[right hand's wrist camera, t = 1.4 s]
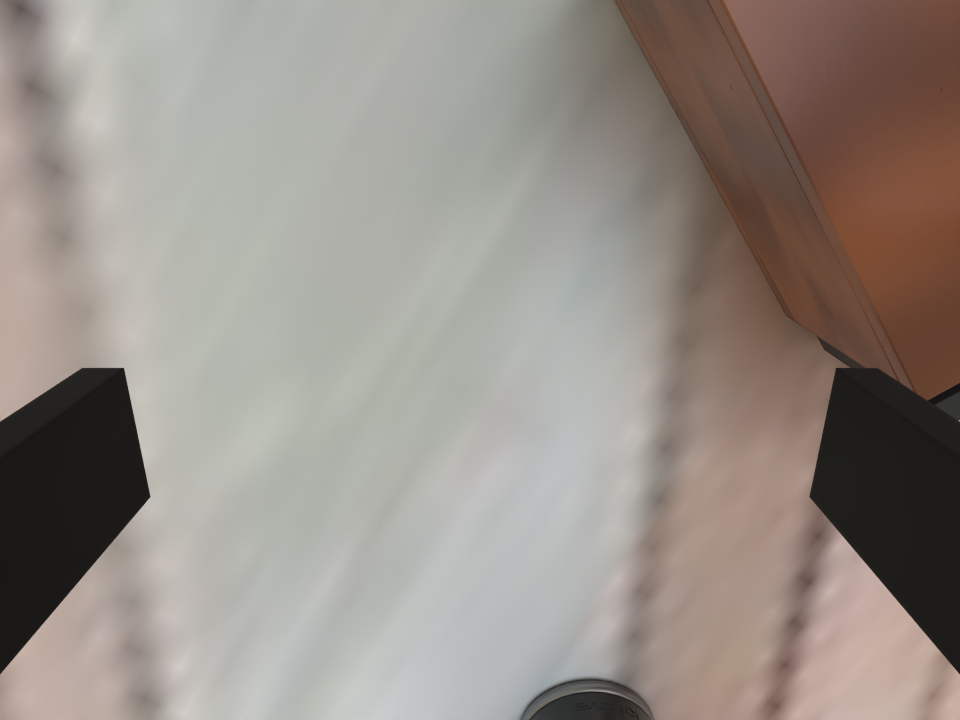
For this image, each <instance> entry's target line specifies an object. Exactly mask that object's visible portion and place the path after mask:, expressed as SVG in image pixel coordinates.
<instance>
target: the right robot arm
mask: <svg viewBox="0 0 960 720" xmlns="http://www.w3.org/2000/svg"><path fill="white" fill-rule="evenodd" d="M149 498H150V493H149V488H148V483H147V478H146V473H145V468H144V463H143V459H142V454H141V449H140V444H139V439H138V434H137V429H136V425H135V420H134V415H133V410H132V405H131V400H130V395H129V391H128V386H127V381H126V376H125V371H124V368H82V369H80V370H79V371H77V372H76V373H74V374H72V375H71V376H69V377H68V378H66V379H65V380H63V381H62V382H60V383H59V384H57V385H56V386H54V387H53V388H51V389H50V390H48V391H47V392H45V393H43V394H42V395H40V396H39V397H37V398H36V399H34V400H33V401H31V402H30V403H28V404H27V405H25V406H24V407H22V408H21V409H19V410H17V411H16V412H14V413H13V414H11V415H10V416H8V417H7V418H5V419H4V420H2V421H1V422H0V674H1V673H2V671H3V670H4V669H5V668H6V667H7V666H8V664H9V663H10V662H11V661H12V660H13V658H14V657H15V656H16V655H17V654H18V653H19V651H20V650H21V649H22V648H23V647H24V645H25V644H26V643H27V642H28V641H29V640H30V638H31V637H32V636H33V635H34V634H35V633H36V631H37V630H38V629H39V628H40V627H41V625H42V624H43V623H44V622H45V621H46V620H47V618H48V617H49V616H50V615H51V614H52V612H53V611H54V610H55V609H56V608H57V607H58V605H59V604H60V603H61V602H62V601H63V599H64V598H65V597H66V596H67V595H68V594H69V592H70V591H71V590H72V589H73V588H74V586H75V585H76V584H77V583H78V582H79V581H80V579H81V578H82V577H83V576H84V575H85V573H86V572H87V571H88V570H89V569H90V568H91V566H92V565H93V564H94V563H95V562H96V560H97V559H98V558H99V557H100V556H101V555H102V553H103V552H104V551H105V550H106V549H107V548H108V546H109V545H110V544H111V543H112V542H113V540H114V539H115V538H116V537H117V536H118V535H119V533H120V532H121V531H122V530H123V529H124V527H125V526H126V525H127V524H128V523H129V522H130V520H131V519H132V518H133V517H134V516H135V514H136V513H137V512H138V511H139V510H140V509H141V507H142V506H143V505H144V504H145V503H146V501H147V500H148V499H149ZM810 498H811V499H812V500H813V501H814V503H815V504H816V505H817V506H818V507H819V509H820V510H821V511H822V512H823V513H824V514H825V516H826V517H827V518H828V519H829V520H830V522H831V523H832V524H833V525H834V526H835V527H836V529H837V530H838V531H839V532H840V533H841V535H842V536H843V537H844V538H845V539H846V540H847V542H848V543H849V544H850V545H851V546H852V548H853V549H854V550H855V551H856V552H857V553H858V555H859V556H860V557H861V558H862V559H863V560H864V562H865V563H866V564H867V565H868V566H869V568H870V569H871V570H872V571H873V572H874V573H875V575H876V576H877V577H878V578H879V579H880V581H881V582H882V583H883V584H884V585H885V586H886V588H887V589H888V590H889V591H890V592H891V594H892V595H893V596H894V597H895V598H896V599H897V601H898V602H899V603H900V604H901V605H902V607H903V608H904V609H905V610H906V611H907V612H908V614H909V615H910V616H911V617H912V618H913V620H914V621H915V622H916V623H917V624H918V625H919V627H920V628H921V629H922V630H923V631H924V633H925V634H926V635H927V636H928V637H929V638H930V640H931V641H932V642H933V643H934V644H935V645H936V647H937V648H938V649H939V650H940V651H941V653H942V654H943V655H944V656H945V657H946V658H947V660H948V661H949V662H950V663H951V664H952V666H953V667H954V668H955V669H956V670H957V671H958V673H959V674H960V422H959V421H958V420H956V419H955V418H953V417H952V416H950V415H949V414H947V413H946V412H944V411H943V410H941V409H939V408H938V407H936V406H935V405H933V404H932V403H930V402H929V401H927V400H926V399H924V398H923V397H921V396H920V395H918V394H917V393H915V392H913V391H912V390H910V389H909V388H907V387H906V386H904V385H903V384H901V383H900V382H898V381H897V380H895V379H894V378H892V377H891V376H889V375H888V374H886V373H884V372H883V371H881V370H880V369H878V368H836V371H835V376H834V381H833V386H832V391H831V395H830V400H829V405H828V410H827V415H826V420H825V425H824V429H823V434H822V439H821V444H820V449H819V454H818V459H817V463H816V468H815V473H814V478H813V483H812V488H811V493H810Z"/></svg>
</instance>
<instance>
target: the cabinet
mask: <svg viewBox="0 0 960 720" xmlns="http://www.w3.org/2000/svg"><path fill="white" fill-rule="evenodd" d="M614 1H615V2H616V4H617V6H618V8H619V10H620V12H621V13H622V15H623V17H624V19H625V21H626V23H627V24H628V26H629V28H630V30H631V32H632V33H633V35H634V37H635V39H636V41H637V43H638V44H639V46H640V48H641V50H642V52H643V54H644V55H645V57H646V59H647V61H648V63H649V65H650V66H651V68H652V70H653V72H654V74H655V76H656V77H657V79H658V81H659V83H660V85H661V87H662V88H663V90H664V92H665V94H666V96H667V98H668V99H669V101H670V103H671V105H672V107H673V109H674V110H675V112H676V114H677V116H678V118H679V120H680V121H681V123H682V125H683V127H684V129H685V130H686V132H687V134H688V136H689V138H690V140H691V141H692V143H693V145H694V147H695V149H696V151H697V152H698V154H699V156H700V158H701V160H702V162H703V163H704V165H705V167H706V169H707V171H708V173H709V174H710V176H711V178H712V180H713V182H714V184H715V185H716V187H717V189H718V191H719V193H720V195H721V196H722V198H723V200H724V202H725V204H726V206H727V207H728V209H729V211H730V213H731V215H732V217H733V218H734V220H735V222H736V224H737V226H738V228H739V229H740V231H741V233H742V235H743V237H744V238H745V240H746V242H747V244H748V246H749V248H750V249H751V251H752V253H753V255H754V257H755V259H756V260H757V262H758V264H759V266H760V268H761V270H762V271H763V273H764V275H765V277H766V279H767V281H768V282H769V284H770V286H771V288H772V290H773V292H774V293H775V295H776V297H777V299H778V301H779V303H780V304H781V306H782V308H783V310H784V312H785V314H786V315H787V317H789V318H790V319H792V320H794V321H795V322H797V323H798V324H800V325H801V326H803V327H804V328H806V329H807V330H809V331H810V332H812V333H813V334H815V335H817V336H818V337H820V338H821V339H823V340H824V341H826V342H827V343H829V344H830V345H832V346H833V347H835V348H836V349H838V350H839V351H841V352H843V353H844V354H846V355H847V356H849V357H850V358H852V359H853V360H855V361H856V362H858V363H859V364H861V365H862V366H864V367H865V368H878V369H880V370H881V371H883V372H884V373H886V374H888V375H889V376H891V377H892V378H894V379H895V380H897V381H898V382H900V383H901V384H903V385H904V386H906V387H907V388H909V389H910V390H912V391H913V392H915V393H917V394H918V395H920V396H921V397H923V398H924V399H926V400H929V399H931V398H933V397H935V396H937V395H938V394H940V393H942V392H944V391H946V390H948V389H949V388H951V387H953V386H955V385H957V384H959V383H960V0H614Z"/></svg>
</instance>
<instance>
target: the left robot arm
mask: <svg viewBox="0 0 960 720" xmlns="http://www.w3.org/2000/svg"><path fill="white" fill-rule="evenodd" d="M521 720H654V718H653V715H652V712H651V710H650V708H649V707H648V705H647V704H646V703H645V702H644V701H643V699H641V698H640V697H639V696H638V695H637V694H635V693H634V692H632V691H631V690H629V689H627V688H625V687H623V686H620V685H617V684H614V683H610V682H605V681H595V680H587V681H576V682H571V683H567V684H563V685H560V686H558V687H555V688H553V689H551V690H549V691H547V692H545V693H544V694H542V695H541V696H539V697H538V698H537V699H536V700H535V701H534V702H533V703H532V704H531V705H530V706H529V707H528V708H527V710H526V711H525V713H524V714H523V716H522V718H521Z"/></svg>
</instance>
